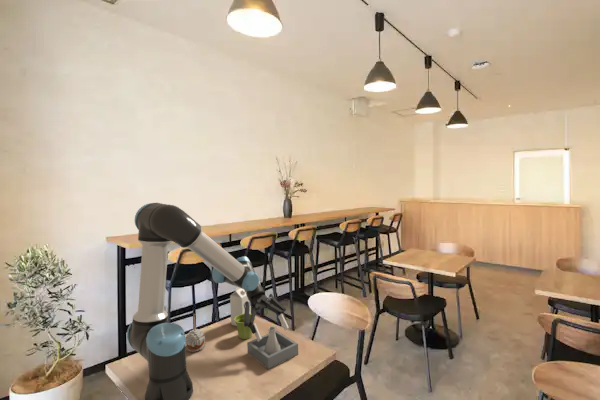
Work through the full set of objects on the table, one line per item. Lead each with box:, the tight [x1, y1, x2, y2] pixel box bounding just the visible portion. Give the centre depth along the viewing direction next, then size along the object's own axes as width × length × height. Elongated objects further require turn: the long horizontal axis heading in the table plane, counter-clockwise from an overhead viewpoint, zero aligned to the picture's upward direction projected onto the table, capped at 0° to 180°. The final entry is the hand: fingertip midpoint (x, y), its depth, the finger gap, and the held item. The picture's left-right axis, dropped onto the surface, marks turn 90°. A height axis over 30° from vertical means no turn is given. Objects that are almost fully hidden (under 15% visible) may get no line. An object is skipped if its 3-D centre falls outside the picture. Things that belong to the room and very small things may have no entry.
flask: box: [264, 325, 281, 355], centre depth 133 cm, size 7×7×10 cm
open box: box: [246, 330, 299, 370], centre depth 133 cm, size 15×15×4 cm
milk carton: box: [229, 287, 252, 327], centre depth 159 cm, size 7×7×19 cm
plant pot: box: [234, 313, 256, 340], centre depth 148 cm, size 9×9×9 cm
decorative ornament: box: [185, 313, 206, 352], centre depth 138 cm, size 8×8×15 cm
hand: (273, 334), depth 133 cm, fingers open, 13 cm apart
